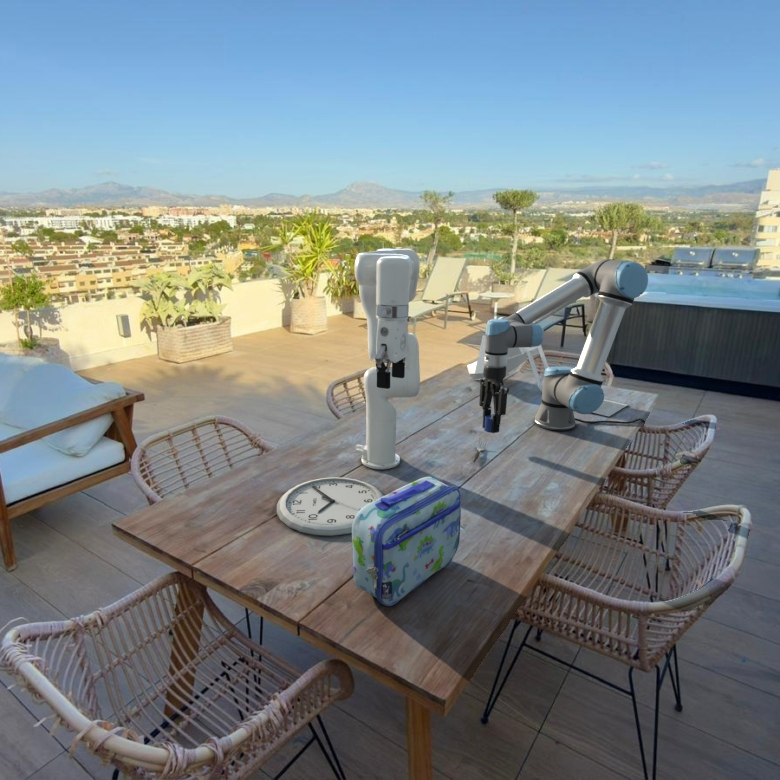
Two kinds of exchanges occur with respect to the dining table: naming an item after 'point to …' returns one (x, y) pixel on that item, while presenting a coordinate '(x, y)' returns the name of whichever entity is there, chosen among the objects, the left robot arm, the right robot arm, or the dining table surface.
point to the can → (488, 423)
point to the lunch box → (405, 538)
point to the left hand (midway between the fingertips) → (391, 382)
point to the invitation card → (609, 408)
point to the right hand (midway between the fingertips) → (490, 429)
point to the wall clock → (325, 505)
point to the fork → (479, 450)
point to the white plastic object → (510, 361)
